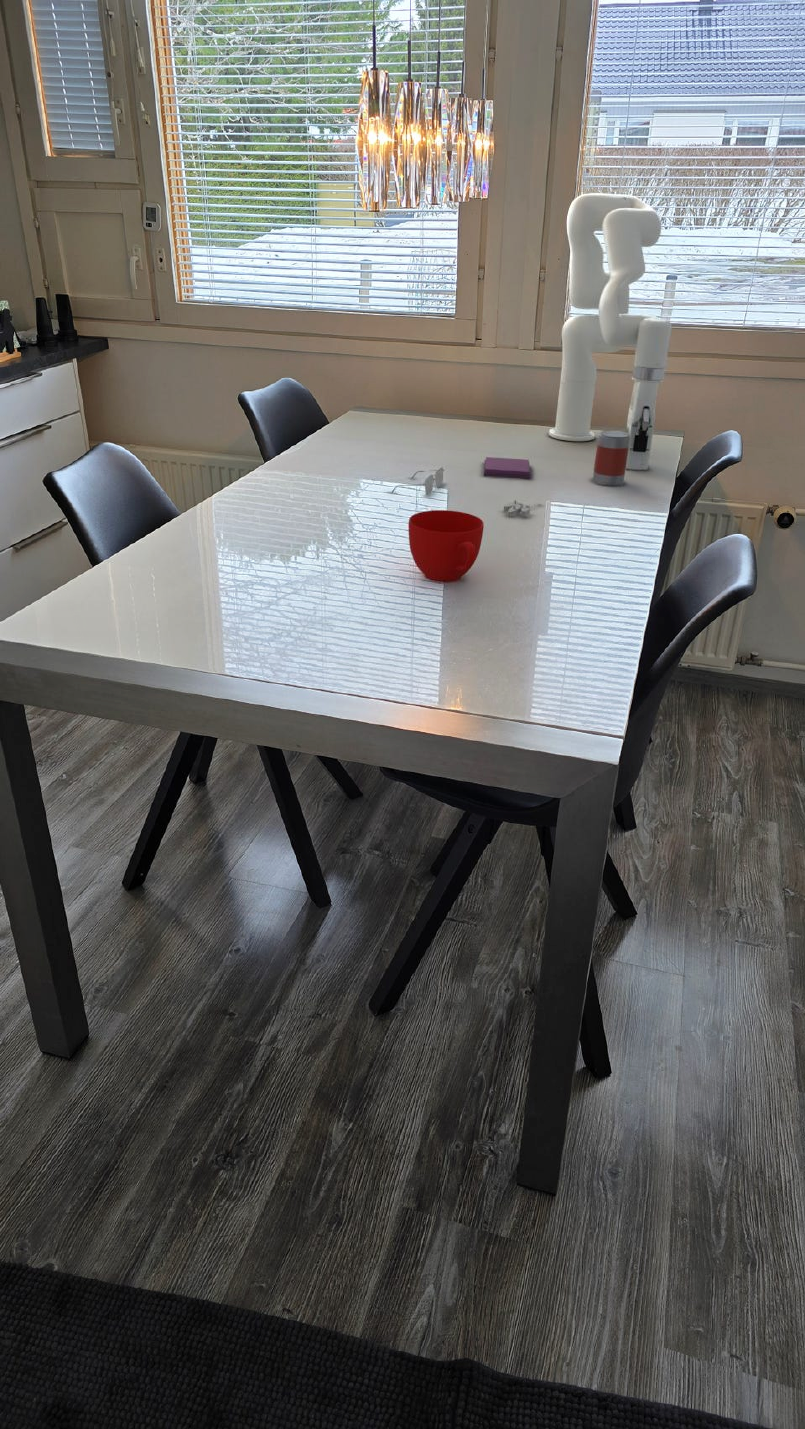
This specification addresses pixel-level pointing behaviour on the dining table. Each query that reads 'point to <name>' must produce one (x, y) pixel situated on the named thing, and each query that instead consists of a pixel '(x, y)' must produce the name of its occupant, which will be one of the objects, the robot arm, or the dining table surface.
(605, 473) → the tin can
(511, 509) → the game controller
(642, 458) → the syrup box
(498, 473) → the purple square slab
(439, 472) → the eyeglasses
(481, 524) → the ceramic cup
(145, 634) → the dining table surface
